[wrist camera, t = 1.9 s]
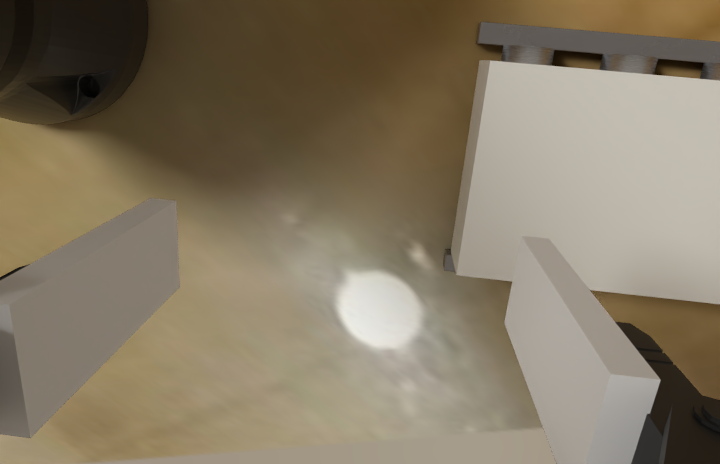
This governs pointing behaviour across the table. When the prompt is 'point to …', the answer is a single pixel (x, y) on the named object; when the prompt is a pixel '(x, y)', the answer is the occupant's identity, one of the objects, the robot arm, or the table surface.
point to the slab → (594, 178)
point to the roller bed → (615, 47)
